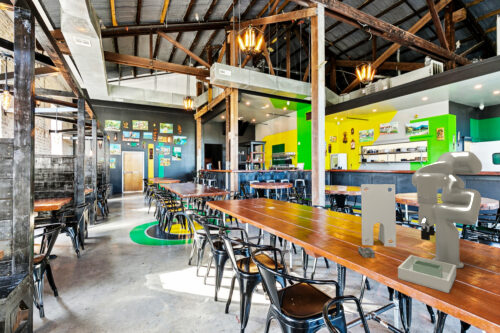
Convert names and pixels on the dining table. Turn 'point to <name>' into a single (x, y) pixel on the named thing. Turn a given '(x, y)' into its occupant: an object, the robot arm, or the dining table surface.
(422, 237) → the robot arm
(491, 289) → the dining table surface
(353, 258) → the dining table surface
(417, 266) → the small crate
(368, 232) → the notched grey plate
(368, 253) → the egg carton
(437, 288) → the light grey tray
